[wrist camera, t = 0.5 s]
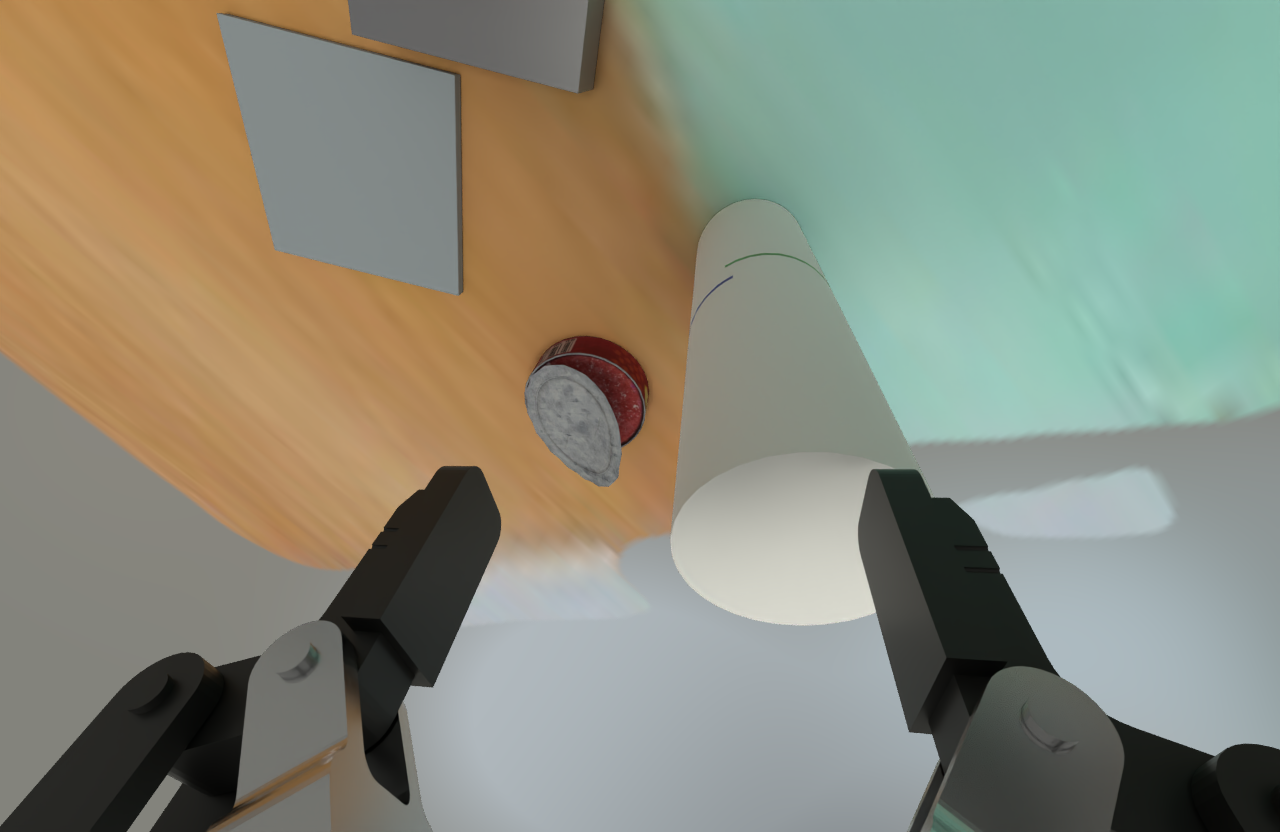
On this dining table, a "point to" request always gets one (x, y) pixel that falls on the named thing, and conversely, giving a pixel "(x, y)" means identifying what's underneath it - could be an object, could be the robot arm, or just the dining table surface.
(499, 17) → the gray square hole block
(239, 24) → the mat
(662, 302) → the dining table surface
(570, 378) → the canned food
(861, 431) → the cylindrical container
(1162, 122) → the dining table surface
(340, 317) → the dining table surface
